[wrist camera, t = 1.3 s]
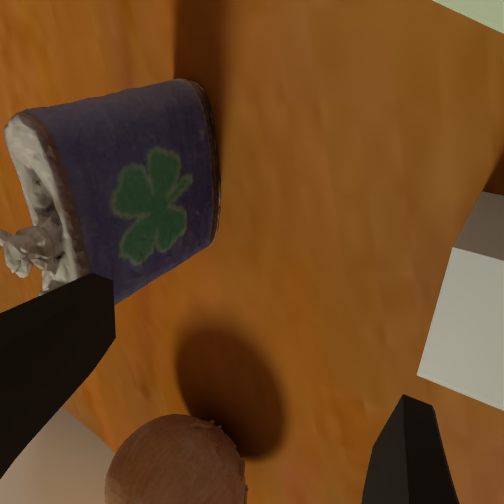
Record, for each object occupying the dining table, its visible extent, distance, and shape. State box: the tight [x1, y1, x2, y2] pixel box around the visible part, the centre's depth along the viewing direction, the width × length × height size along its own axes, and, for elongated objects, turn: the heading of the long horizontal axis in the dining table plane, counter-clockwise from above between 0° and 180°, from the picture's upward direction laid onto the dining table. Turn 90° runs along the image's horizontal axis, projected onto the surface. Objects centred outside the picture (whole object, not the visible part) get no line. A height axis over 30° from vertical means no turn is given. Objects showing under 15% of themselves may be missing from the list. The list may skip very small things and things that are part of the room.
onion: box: [105, 414, 248, 504], centre depth 30 cm, size 10×9×10 cm
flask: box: [0, 78, 221, 305], centre depth 19 cm, size 9×3×11 cm, turn 0°
